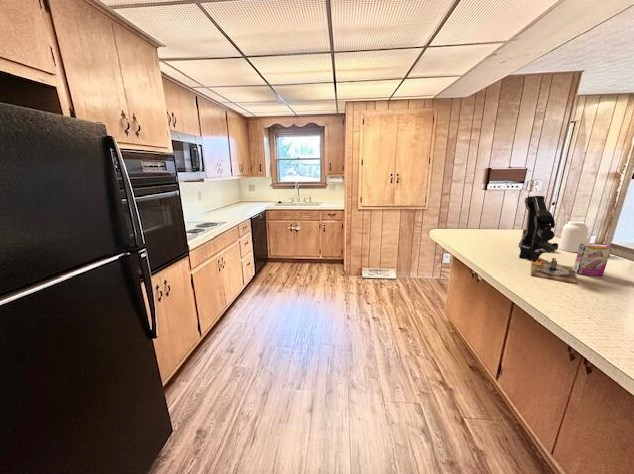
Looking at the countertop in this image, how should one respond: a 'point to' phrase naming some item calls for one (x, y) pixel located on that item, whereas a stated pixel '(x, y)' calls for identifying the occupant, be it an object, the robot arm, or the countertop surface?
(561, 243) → the white container
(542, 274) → the walnut board
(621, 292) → the countertop surface
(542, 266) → the flange plate
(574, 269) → the candy bar box
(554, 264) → the post
